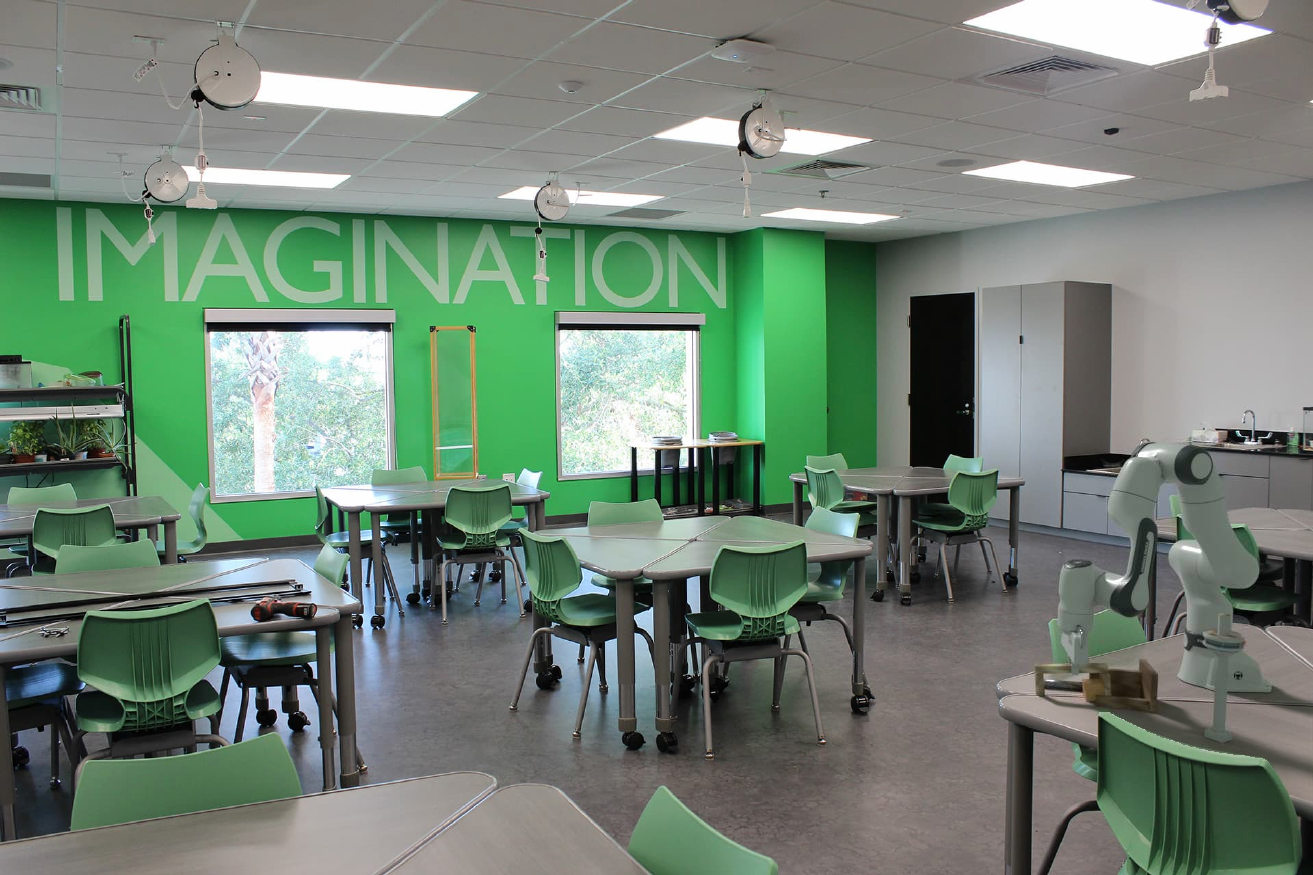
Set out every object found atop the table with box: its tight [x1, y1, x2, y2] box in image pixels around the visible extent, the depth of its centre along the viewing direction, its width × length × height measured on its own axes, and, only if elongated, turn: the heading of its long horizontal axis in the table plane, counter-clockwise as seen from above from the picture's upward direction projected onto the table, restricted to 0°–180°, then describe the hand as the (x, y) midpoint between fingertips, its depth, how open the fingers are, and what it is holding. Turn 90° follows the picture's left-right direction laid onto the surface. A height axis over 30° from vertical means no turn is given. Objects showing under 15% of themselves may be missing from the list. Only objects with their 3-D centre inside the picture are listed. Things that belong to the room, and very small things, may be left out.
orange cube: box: [1081, 678, 1104, 702], centre depth 252 cm, size 4×4×4 cm
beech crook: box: [1033, 662, 1111, 697], centre depth 253 cm, size 18×6×8 cm, turn 76°
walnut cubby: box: [1088, 658, 1159, 714], centre depth 250 cm, size 14×13×10 cm
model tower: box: [1203, 613, 1245, 744], centre depth 224 cm, size 8×8×30 cm
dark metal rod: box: [1044, 678, 1083, 692], centre depth 260 cm, size 12×2×2 cm, turn 76°
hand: (1073, 671), depth 252 cm, fingers closed on beech crook
